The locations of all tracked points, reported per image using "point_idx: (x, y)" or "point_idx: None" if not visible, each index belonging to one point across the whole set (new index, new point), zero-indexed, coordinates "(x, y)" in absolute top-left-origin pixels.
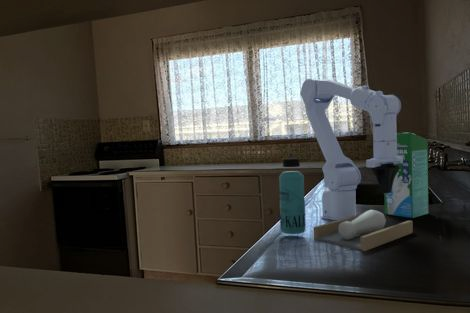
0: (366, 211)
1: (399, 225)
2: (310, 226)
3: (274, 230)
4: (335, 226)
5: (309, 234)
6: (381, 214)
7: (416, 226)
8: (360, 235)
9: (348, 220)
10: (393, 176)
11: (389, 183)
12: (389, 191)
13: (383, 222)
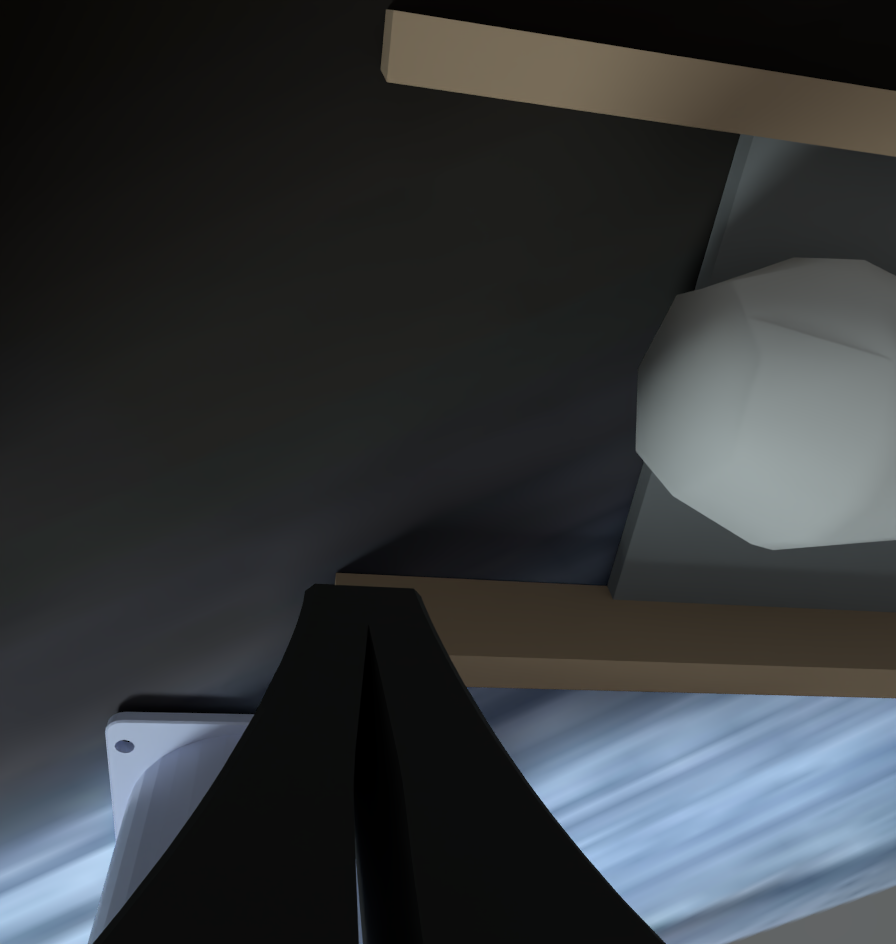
0: (866, 527)
1: (773, 71)
2: (653, 820)
3: (861, 890)
4: (847, 642)
5: (887, 713)
6: (838, 346)
7: (4, 100)
8: None
9: (661, 650)
10: (289, 883)
11: (458, 727)
12: (378, 602)
13: (852, 265)
